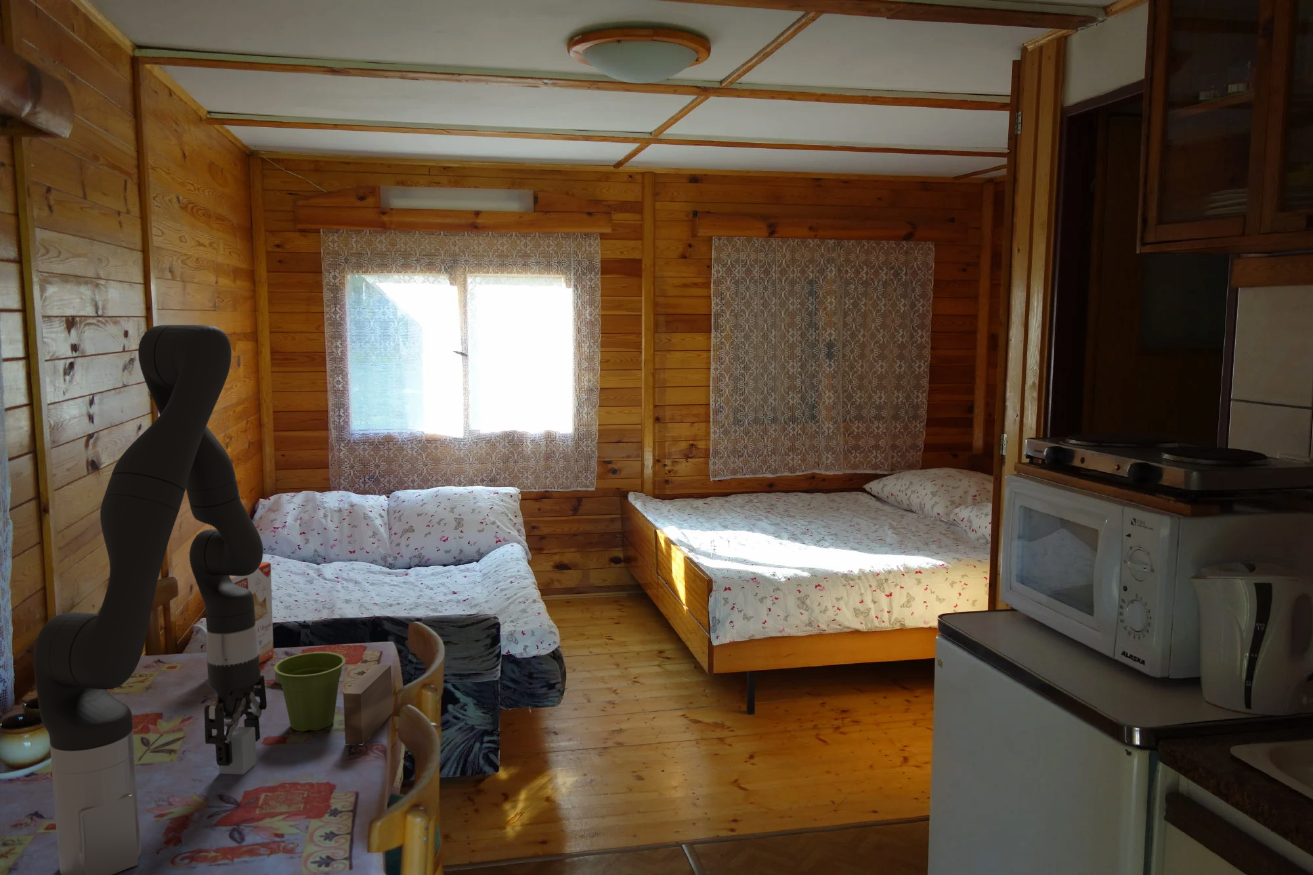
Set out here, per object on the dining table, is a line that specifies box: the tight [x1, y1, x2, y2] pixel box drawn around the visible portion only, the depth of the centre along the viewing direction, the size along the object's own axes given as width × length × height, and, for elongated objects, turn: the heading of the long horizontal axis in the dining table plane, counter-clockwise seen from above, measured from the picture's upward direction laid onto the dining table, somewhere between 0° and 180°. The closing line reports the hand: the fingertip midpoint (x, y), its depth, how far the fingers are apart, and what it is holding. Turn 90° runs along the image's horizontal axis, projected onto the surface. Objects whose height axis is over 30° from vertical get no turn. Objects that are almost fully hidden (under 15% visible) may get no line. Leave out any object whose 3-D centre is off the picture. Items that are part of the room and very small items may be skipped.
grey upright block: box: [218, 726, 257, 775], centre depth 151 cm, size 4×4×6 cm
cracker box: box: [230, 561, 275, 664], centre depth 196 cm, size 14×6×21 cm, turn 168°
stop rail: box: [342, 663, 394, 745], centre depth 166 cm, size 3×14×9 cm, turn 175°
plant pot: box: [273, 651, 346, 732], centre depth 167 cm, size 12×12×11 cm
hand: (239, 752), depth 151 cm, fingers open, 8 cm apart
